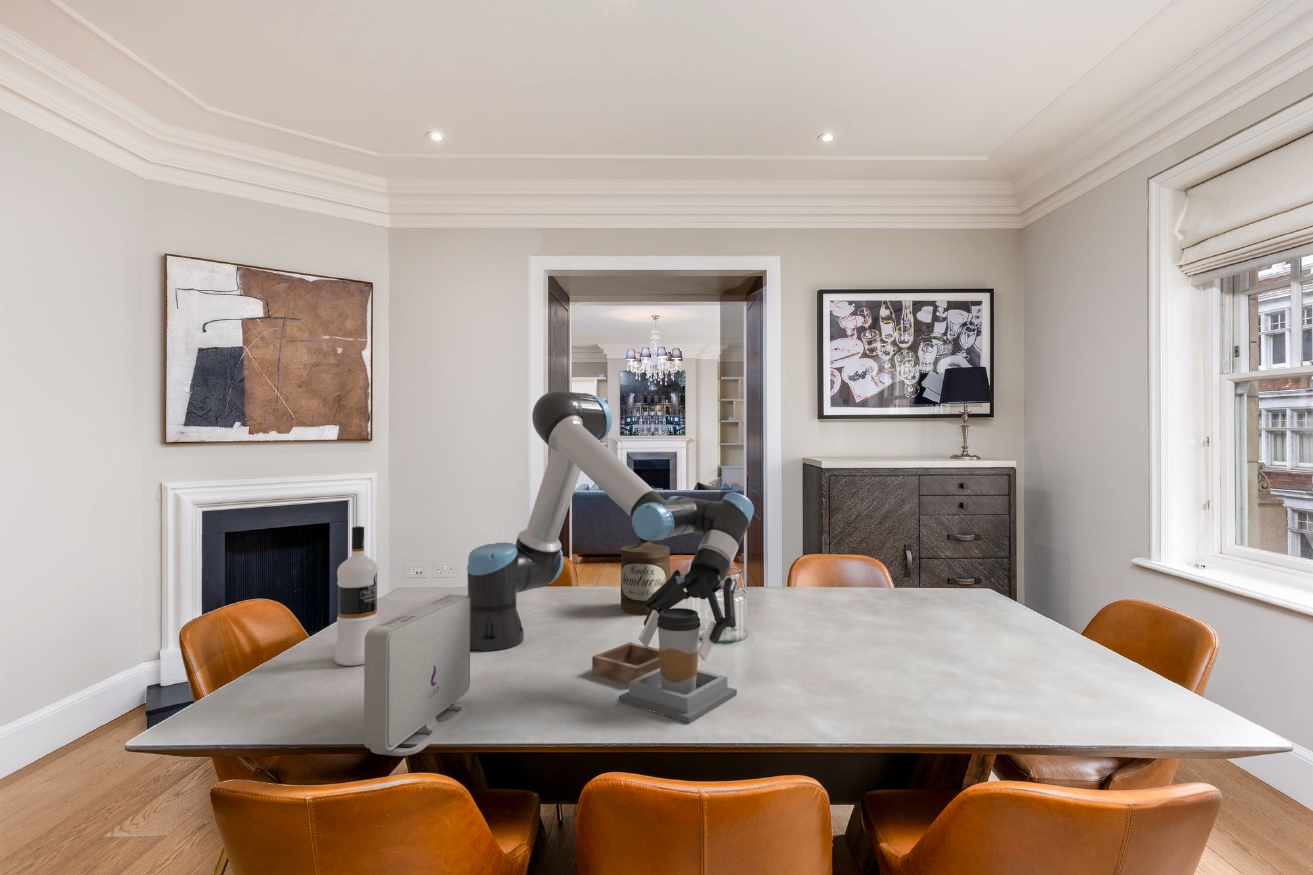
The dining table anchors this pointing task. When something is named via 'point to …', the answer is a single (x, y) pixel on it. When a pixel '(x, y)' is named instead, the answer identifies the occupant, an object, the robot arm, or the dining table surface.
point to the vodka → (355, 602)
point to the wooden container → (642, 574)
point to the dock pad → (679, 695)
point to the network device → (416, 674)
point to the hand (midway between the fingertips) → (671, 649)
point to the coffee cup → (678, 649)
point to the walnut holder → (616, 666)
